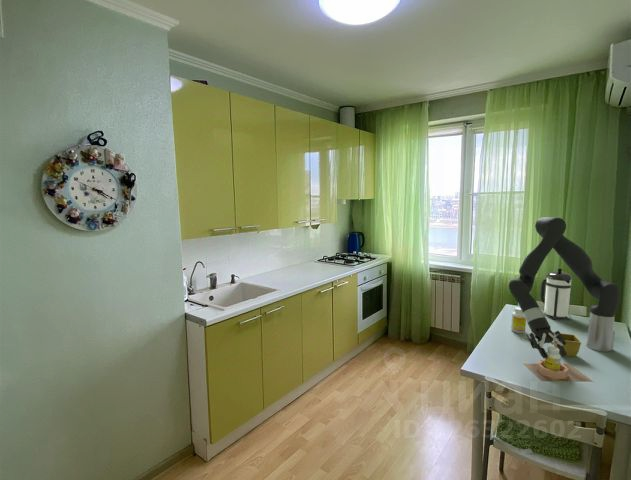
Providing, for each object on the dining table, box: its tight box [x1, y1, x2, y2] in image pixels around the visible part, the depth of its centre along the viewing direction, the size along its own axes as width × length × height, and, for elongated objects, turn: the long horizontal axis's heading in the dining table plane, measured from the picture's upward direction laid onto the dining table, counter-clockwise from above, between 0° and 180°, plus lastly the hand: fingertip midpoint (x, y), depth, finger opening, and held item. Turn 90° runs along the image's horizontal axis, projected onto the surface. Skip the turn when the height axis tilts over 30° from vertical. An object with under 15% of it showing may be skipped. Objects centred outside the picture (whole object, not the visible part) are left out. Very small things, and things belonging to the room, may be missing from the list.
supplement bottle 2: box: [544, 346, 562, 371], centre depth 145 cm, size 5×5×10 cm
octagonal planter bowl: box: [536, 359, 569, 379], centre depth 146 cm, size 10×10×3 cm
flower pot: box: [553, 332, 582, 357], centre depth 162 cm, size 9×9×9 cm
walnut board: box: [523, 363, 594, 382], centre depth 146 cm, size 20×14×1 cm
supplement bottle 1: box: [510, 306, 527, 334], centre depth 190 cm, size 7×7×13 cm
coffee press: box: [540, 267, 573, 321], centre depth 210 cm, size 17×16×30 cm
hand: (555, 356), depth 144 cm, fingers open, 8 cm apart
